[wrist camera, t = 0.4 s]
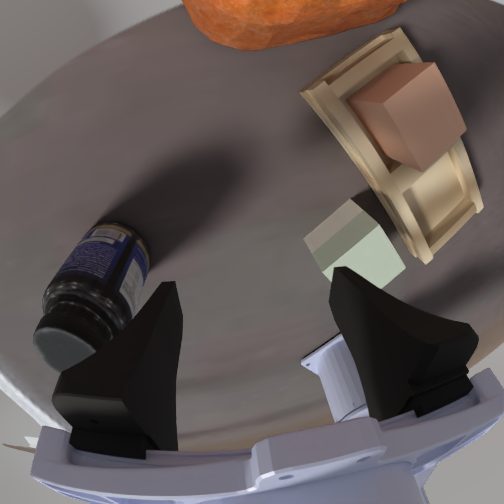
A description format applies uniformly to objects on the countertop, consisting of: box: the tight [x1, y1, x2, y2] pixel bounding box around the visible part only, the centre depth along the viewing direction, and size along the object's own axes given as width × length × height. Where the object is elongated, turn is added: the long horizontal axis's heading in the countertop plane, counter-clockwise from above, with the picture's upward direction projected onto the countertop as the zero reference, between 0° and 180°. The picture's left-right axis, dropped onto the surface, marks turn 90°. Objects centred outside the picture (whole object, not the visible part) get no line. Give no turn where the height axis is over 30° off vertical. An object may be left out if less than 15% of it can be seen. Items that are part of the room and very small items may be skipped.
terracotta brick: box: [345, 62, 467, 172], centre depth 15 cm, size 5×5×5 cm
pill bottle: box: [33, 222, 150, 374], centre depth 17 cm, size 6×6×11 cm
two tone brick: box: [303, 199, 406, 289], centre depth 22 cm, size 5×5×5 cm
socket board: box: [299, 28, 483, 264], centre depth 19 cm, size 18×9×3 cm, turn 43°
